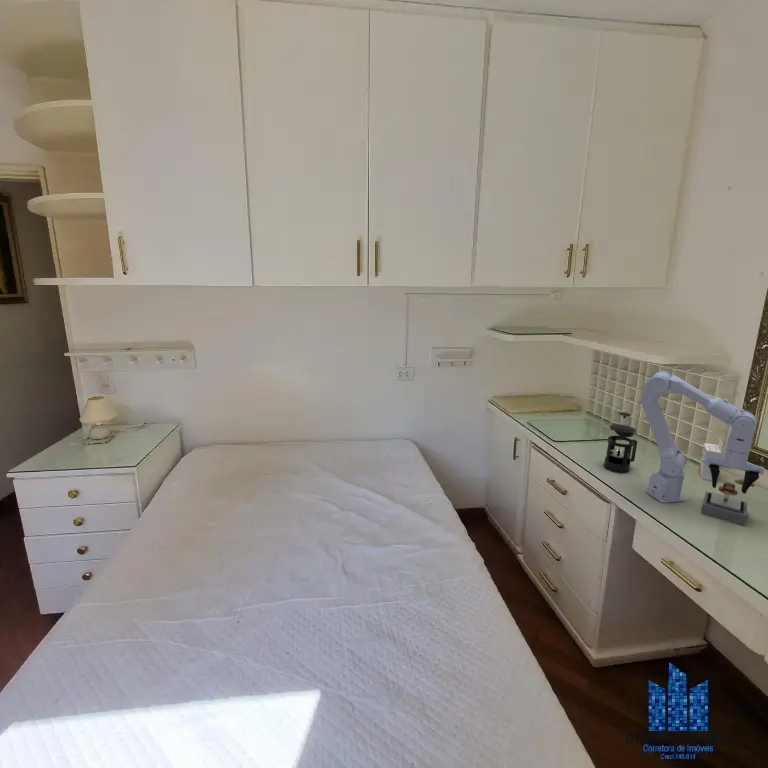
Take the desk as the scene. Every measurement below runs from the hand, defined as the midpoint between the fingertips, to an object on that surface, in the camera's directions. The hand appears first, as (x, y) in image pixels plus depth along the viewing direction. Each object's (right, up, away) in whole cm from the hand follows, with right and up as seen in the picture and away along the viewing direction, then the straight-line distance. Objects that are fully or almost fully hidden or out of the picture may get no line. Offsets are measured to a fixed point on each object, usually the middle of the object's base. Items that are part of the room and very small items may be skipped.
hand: (728, 489), depth 140 cm
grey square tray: (0, -8, +2) cm, 8 cm away
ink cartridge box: (+14, -2, +28) cm, 31 cm away
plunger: (0, -5, +1) cm, 5 cm away
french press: (-18, 0, +34) cm, 38 cm away
